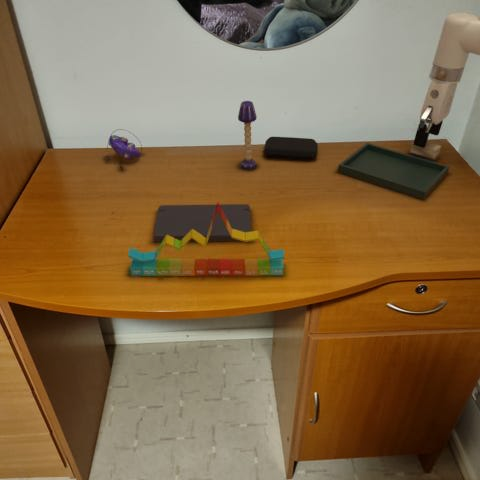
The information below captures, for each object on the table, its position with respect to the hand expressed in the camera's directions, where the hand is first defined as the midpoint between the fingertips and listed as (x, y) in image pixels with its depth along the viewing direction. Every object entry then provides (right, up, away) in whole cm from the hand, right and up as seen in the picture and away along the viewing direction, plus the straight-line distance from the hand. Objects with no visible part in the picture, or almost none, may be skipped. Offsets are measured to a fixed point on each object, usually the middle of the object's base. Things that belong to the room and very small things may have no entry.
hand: (425, 139), depth 131 cm
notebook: (-59, -28, -21) cm, 68 cm away
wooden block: (+1, -3, +3) cm, 5 cm away
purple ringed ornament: (-83, -5, +1) cm, 83 cm away
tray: (-10, -10, -3) cm, 15 cm away
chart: (-57, -39, -33) cm, 77 cm away
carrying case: (-36, -2, +5) cm, 37 cm away
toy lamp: (-49, -8, -1) cm, 49 cm away
